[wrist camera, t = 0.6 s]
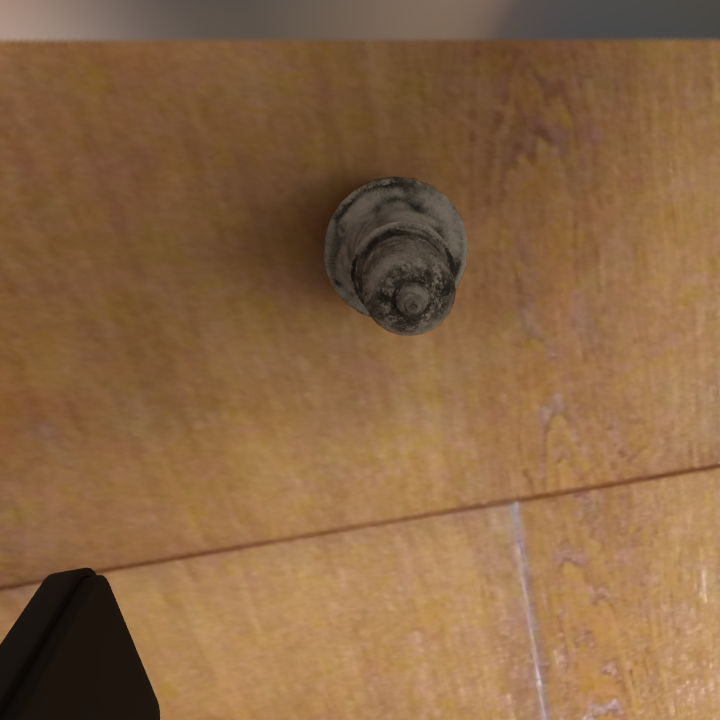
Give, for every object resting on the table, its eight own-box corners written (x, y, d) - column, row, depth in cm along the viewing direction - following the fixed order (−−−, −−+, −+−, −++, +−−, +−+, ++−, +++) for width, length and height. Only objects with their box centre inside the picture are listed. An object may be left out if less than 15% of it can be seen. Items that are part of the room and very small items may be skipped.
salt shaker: (322, 173, 28) (303, 206, 17) (455, 167, 28) (524, 196, 17) (329, 302, 30) (316, 407, 19) (453, 297, 30) (514, 400, 19)
